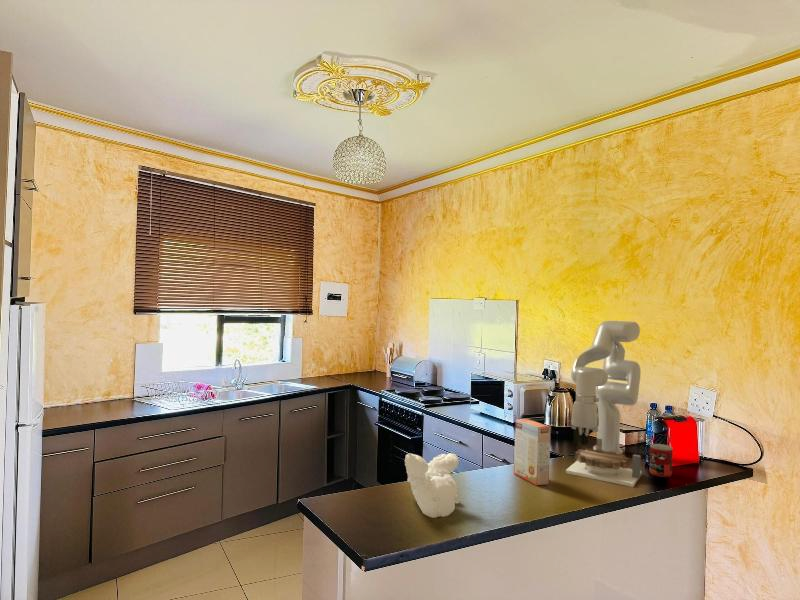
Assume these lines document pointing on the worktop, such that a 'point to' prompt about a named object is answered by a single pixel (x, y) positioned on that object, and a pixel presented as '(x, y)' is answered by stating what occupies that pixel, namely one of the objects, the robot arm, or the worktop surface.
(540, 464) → the cracker box
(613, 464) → the sprocket
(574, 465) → the stand
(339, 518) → the worktop surface
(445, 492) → the white lumpy piece
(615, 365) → the robot arm
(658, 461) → the canned food
